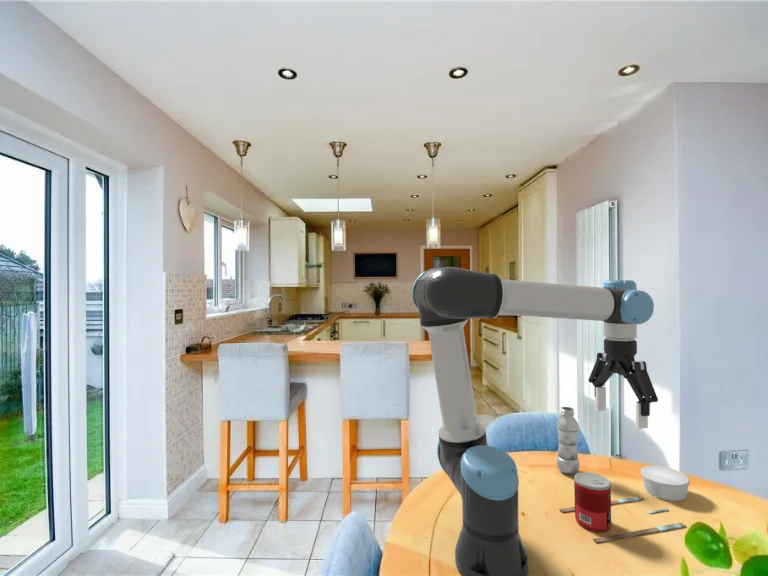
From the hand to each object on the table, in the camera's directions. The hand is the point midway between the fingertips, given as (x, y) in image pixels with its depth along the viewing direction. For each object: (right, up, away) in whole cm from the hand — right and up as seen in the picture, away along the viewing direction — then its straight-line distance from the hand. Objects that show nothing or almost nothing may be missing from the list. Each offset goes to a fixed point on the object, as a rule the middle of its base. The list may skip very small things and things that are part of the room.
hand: (620, 418), depth 105 cm
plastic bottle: (-5, -23, +19) cm, 31 cm away
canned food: (-11, -24, -6) cm, 27 cm away
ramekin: (+16, -23, +7) cm, 29 cm away
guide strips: (-3, -24, -5) cm, 24 cm away
